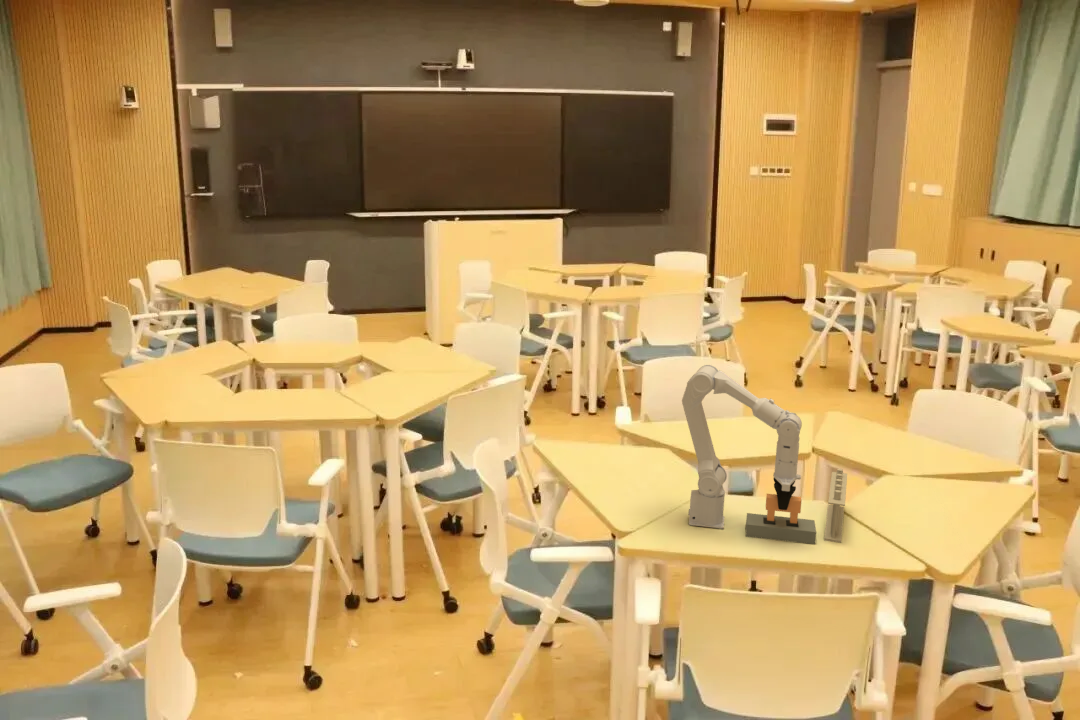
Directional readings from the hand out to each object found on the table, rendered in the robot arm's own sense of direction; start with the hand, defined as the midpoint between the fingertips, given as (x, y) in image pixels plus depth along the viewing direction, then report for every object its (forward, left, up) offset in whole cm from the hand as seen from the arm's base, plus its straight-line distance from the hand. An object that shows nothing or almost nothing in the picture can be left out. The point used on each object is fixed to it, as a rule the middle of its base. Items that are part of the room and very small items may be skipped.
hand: (782, 506), depth 246 cm
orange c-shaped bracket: (0, 0, -4) cm, 4 cm away
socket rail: (0, 0, -8) cm, 8 cm away
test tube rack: (+15, +12, -8) cm, 21 cm away
